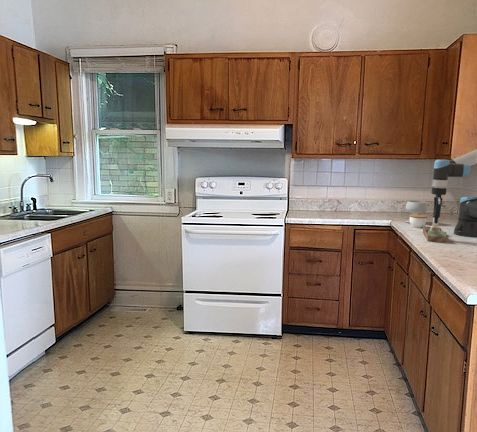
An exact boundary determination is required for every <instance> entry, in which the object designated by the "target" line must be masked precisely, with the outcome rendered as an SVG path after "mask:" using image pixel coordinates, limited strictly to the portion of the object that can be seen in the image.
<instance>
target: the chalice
mask: <svg viewBox="0 0 477 432" xmlns="http://www.w3.org/2000/svg"><path fill="white" fill-rule="evenodd" d="M405 210H406V211H407V212H408V213H409V214H410V215H411V214H418V213H419V215H423V214H424V213H426V212H427V211H428V204H427V202H426V201H423V200H407V202H406V204H405ZM405 223H409V224H410V219H408V220H406V221H405Z"/></svg>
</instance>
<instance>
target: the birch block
mask: <svg viewBox="0 0 477 432" xmlns="http://www.w3.org/2000/svg"><path fill="white" fill-rule="evenodd" d="M430 228H431V231H440V228H441V226H439V225H438V226H433V225H430Z"/></svg>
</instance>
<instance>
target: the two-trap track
mask: <svg viewBox="0 0 477 432" xmlns="http://www.w3.org/2000/svg"><path fill="white" fill-rule="evenodd" d="M422 234H423V235H424V237H425V239H426V241H427V242H431V243H432V242H434V243H444V242H445V243H446V240H447V231H444V230H442V228H441V227H440V231H431V227H429V228H428V227H427V226H426V224H425V225H423V227H422Z"/></svg>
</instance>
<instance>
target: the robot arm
mask: <svg viewBox="0 0 477 432" xmlns="http://www.w3.org/2000/svg"><path fill="white" fill-rule="evenodd" d="M476 164H477V149H474V150H472V151H469V152H467V153H464V154H462V155H460V156H458V157H456V158H453V159H451V160H449V159H436V160H435V161H434V164H433V174H432V175H433V176H432V180H431V184H432V185H431V186H432V188H431V195H434V197H433V214H432V215H433V216H432V226H439V222H440V221H439V220H440V218H441V209H442V204H443V197H442V196H446V195H447V190H448V189H447V187H448V181H449V179H448V178H467V177H469V176H470V174H471V172H472V171H471V170H472V169H471V166H474V165H476ZM453 234H454V235H458V236H460V237H461V236H462V237H469V238H470V237H471V238H477V196H461V198H460V200H459V208H458V219H457V223H456V225H455V226H454V229H453Z"/></svg>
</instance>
